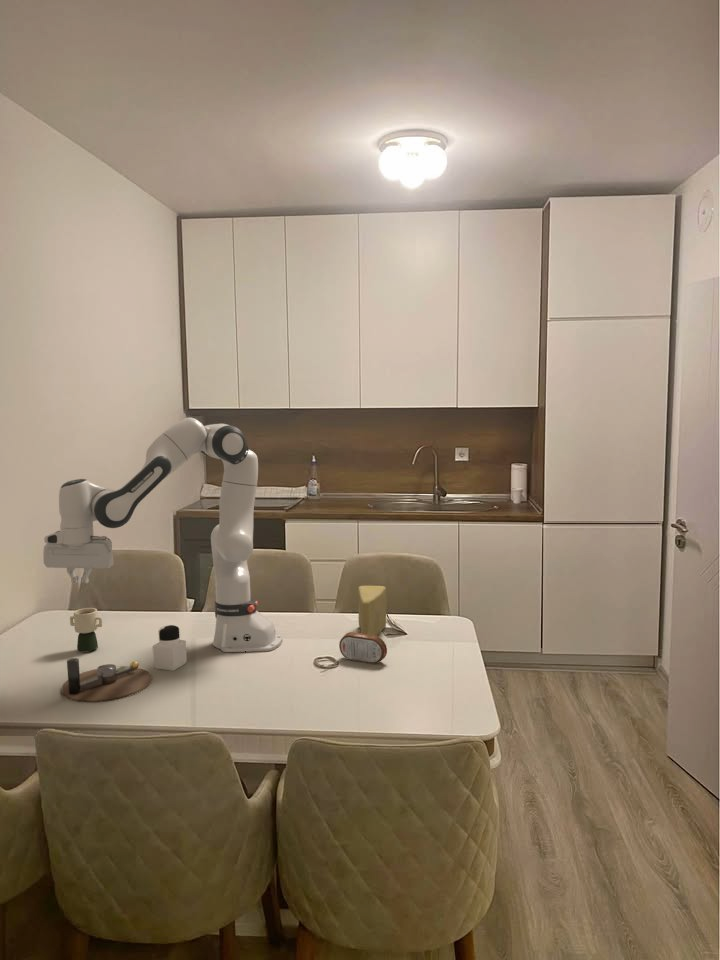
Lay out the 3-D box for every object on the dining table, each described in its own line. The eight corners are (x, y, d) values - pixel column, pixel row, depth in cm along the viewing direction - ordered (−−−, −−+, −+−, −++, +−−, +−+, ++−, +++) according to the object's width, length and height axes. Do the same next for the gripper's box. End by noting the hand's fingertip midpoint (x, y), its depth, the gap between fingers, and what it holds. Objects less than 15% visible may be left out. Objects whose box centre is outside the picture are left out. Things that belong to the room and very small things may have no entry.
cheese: (381, 648, 237) (380, 602, 235) (350, 647, 238) (350, 602, 236) (386, 626, 259) (386, 584, 257) (359, 626, 260) (358, 584, 258)
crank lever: (141, 670, 218) (140, 641, 217) (78, 696, 200) (76, 664, 199) (130, 667, 221) (128, 638, 219) (66, 692, 203) (64, 660, 202)
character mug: (109, 647, 242) (106, 608, 240) (98, 654, 235) (95, 614, 234) (77, 646, 244) (75, 607, 242) (66, 653, 237) (63, 613, 235)
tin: (387, 663, 224) (387, 635, 223) (383, 666, 222) (383, 639, 221) (342, 656, 231) (342, 629, 230) (338, 659, 228) (337, 633, 227)
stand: (165, 670, 221) (164, 666, 221) (128, 704, 197) (128, 699, 197) (89, 667, 224) (88, 663, 224) (44, 699, 201) (43, 695, 201)
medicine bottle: (187, 662, 227) (185, 624, 226) (174, 671, 220) (172, 631, 219) (167, 660, 229) (165, 622, 228) (153, 668, 223) (151, 629, 221)
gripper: (116, 534, 217) (118, 580, 219) (51, 533, 220) (54, 579, 222) (105, 538, 211) (108, 586, 213) (38, 537, 214) (42, 584, 216)
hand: (80, 582), depth 217 cm, fingers closed
